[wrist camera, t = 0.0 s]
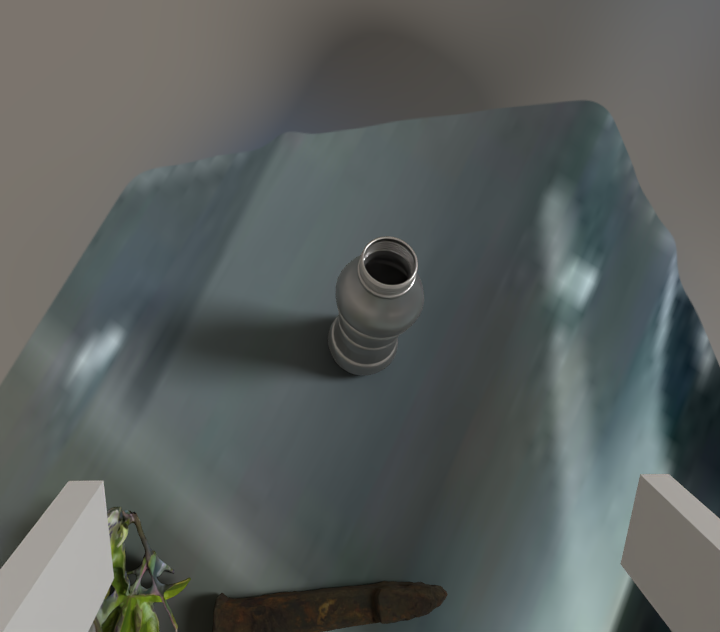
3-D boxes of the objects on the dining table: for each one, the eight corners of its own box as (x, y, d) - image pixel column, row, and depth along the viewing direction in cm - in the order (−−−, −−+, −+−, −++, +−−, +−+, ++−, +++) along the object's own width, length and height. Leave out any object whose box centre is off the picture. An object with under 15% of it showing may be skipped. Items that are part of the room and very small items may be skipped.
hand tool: (217, 646, 42) (207, 663, 38) (218, 591, 44) (209, 601, 39) (443, 624, 45) (458, 638, 40) (438, 573, 46) (452, 581, 41)
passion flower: (103, 563, 48) (36, 485, 41) (217, 548, 48) (169, 466, 41) (51, 709, 39) (-47, 641, 32) (192, 692, 39) (124, 620, 31)
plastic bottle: (347, 306, 53) (369, 198, 34) (405, 339, 53) (458, 249, 34) (314, 357, 51) (317, 273, 32) (373, 393, 50) (411, 328, 32)
